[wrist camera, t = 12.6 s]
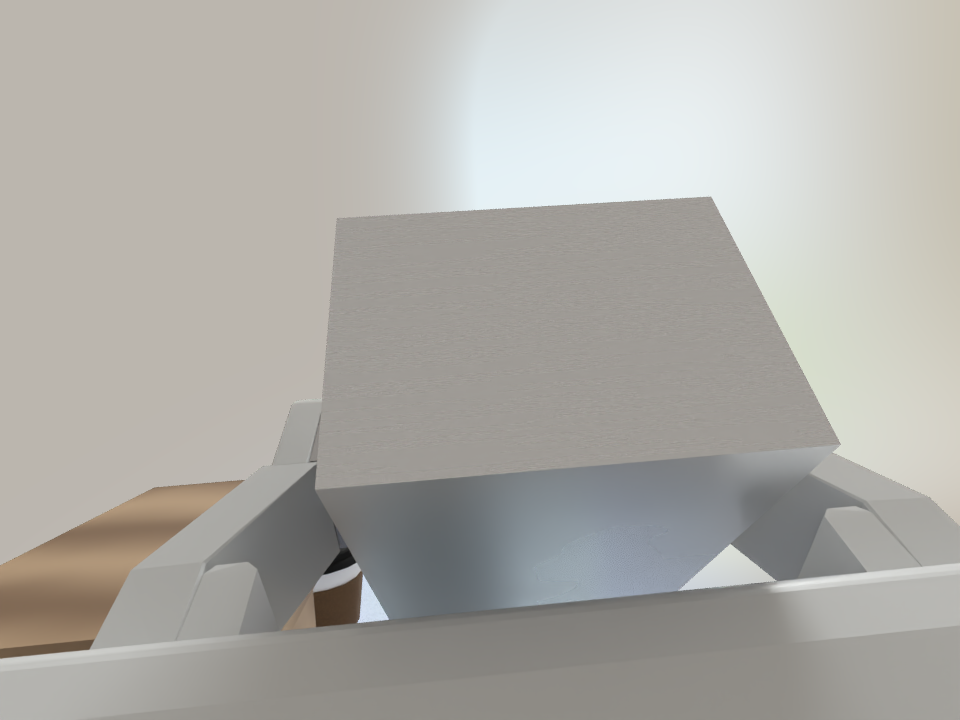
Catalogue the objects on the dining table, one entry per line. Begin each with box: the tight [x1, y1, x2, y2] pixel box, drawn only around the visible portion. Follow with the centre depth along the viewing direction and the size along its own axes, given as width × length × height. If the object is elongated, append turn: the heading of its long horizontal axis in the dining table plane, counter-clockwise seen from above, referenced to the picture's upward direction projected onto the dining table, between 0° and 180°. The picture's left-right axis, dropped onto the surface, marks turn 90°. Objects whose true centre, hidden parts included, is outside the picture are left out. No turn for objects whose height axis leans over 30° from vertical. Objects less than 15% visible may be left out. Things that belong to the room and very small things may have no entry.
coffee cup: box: [313, 547, 363, 627], centre depth 61 cm, size 11×11×12 cm
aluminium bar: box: [315, 197, 841, 620], centre depth 15 cm, size 24×4×3 cm
